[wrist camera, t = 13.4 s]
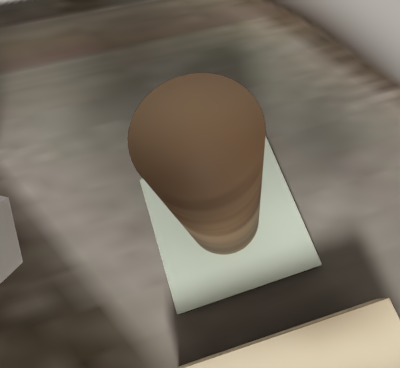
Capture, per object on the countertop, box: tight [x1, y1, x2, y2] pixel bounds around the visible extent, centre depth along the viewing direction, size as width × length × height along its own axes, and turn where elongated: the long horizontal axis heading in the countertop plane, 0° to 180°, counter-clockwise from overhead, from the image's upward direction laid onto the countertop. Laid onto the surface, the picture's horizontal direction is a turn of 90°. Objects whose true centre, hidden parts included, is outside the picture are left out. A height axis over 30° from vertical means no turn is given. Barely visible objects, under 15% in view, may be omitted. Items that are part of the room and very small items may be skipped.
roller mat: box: [140, 136, 322, 314], centre depth 23 cm, size 9×9×1 cm
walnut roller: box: [128, 73, 266, 255], centre depth 17 cm, size 4×4×12 cm
